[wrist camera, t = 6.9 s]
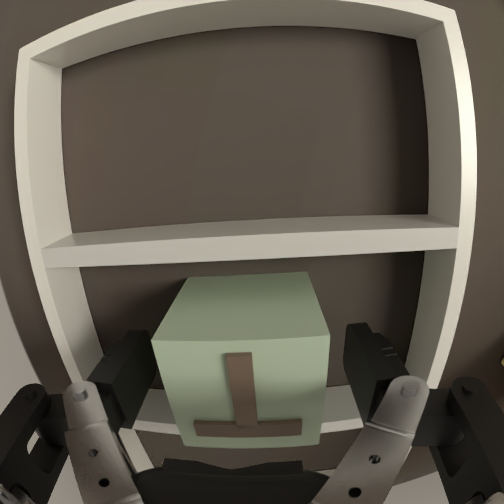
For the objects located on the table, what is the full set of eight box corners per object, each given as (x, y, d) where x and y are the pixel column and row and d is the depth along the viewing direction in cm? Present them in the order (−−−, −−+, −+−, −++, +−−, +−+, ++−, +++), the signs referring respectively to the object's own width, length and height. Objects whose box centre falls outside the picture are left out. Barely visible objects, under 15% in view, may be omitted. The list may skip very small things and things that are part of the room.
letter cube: (306, 270, 13) (331, 339, 8) (305, 365, 14) (319, 448, 9) (188, 276, 13) (148, 343, 8) (204, 369, 14) (183, 449, 9)
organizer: (427, 28, 9) (454, 10, 7) (380, 465, 17) (387, 490, 15) (50, 59, 10) (19, 49, 7) (147, 470, 18) (139, 495, 15)
